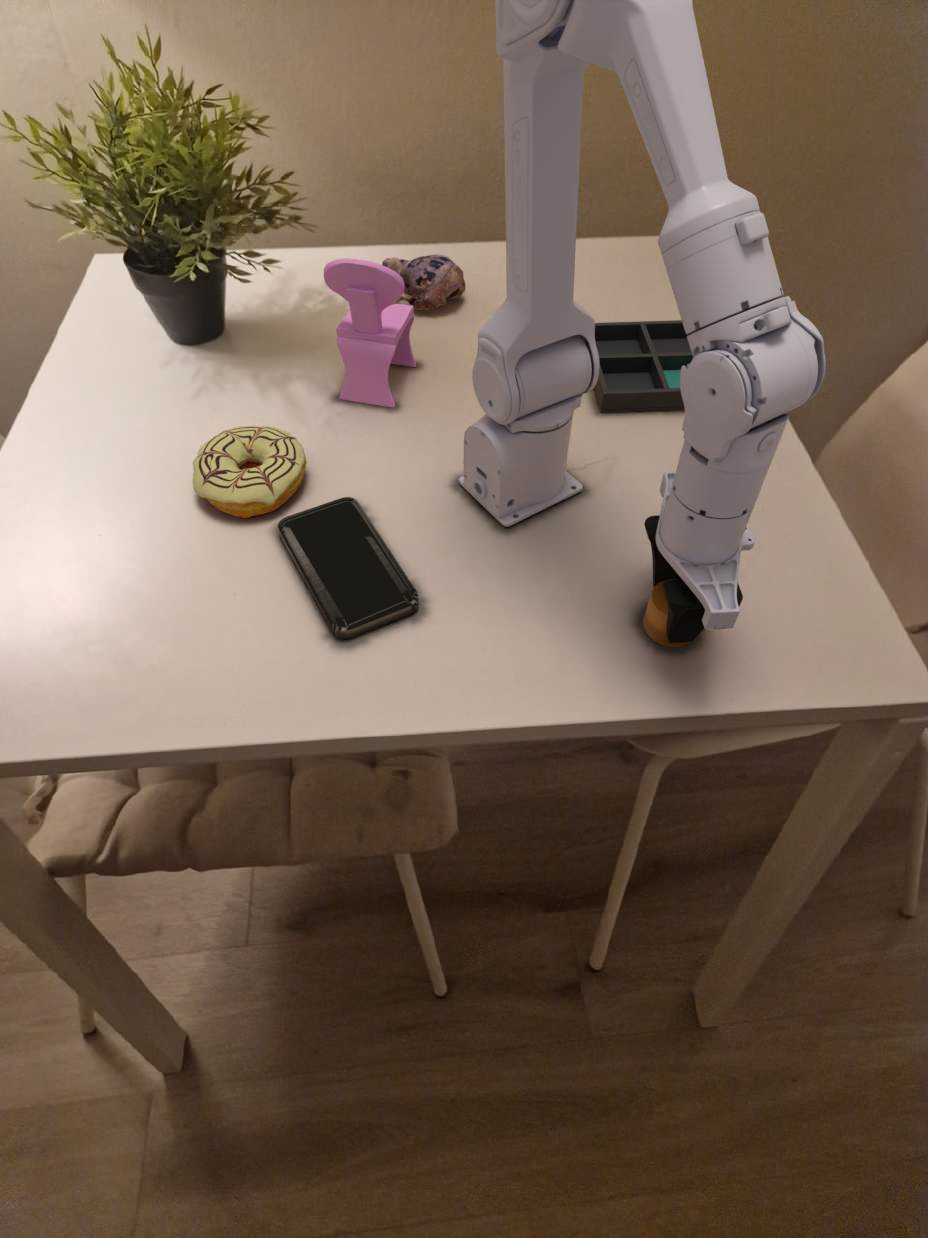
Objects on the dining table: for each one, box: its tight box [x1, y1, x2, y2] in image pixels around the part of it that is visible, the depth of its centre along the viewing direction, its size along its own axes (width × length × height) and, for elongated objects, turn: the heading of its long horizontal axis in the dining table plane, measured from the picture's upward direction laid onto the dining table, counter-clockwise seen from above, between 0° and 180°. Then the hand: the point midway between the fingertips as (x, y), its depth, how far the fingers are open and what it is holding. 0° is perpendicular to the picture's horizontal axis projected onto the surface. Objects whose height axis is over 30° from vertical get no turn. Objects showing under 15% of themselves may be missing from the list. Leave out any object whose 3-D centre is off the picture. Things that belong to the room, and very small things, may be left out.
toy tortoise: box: [381, 254, 467, 311], centre depth 98 cm, size 12×8×6 cm, turn 40°
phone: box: [277, 496, 420, 640], centre depth 70 cm, size 8×1×15 cm
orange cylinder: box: [642, 579, 690, 648], centre depth 65 cm, size 4×4×4 cm
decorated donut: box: [192, 425, 307, 519], centre depth 76 cm, size 10×11×4 cm
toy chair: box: [323, 257, 417, 409], centre depth 83 cm, size 8×9×15 cm
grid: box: [593, 319, 697, 414], centre depth 89 cm, size 14×14×2 cm
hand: (673, 615), depth 65 cm, fingers closed on orange cylinder, 4 cm apart
